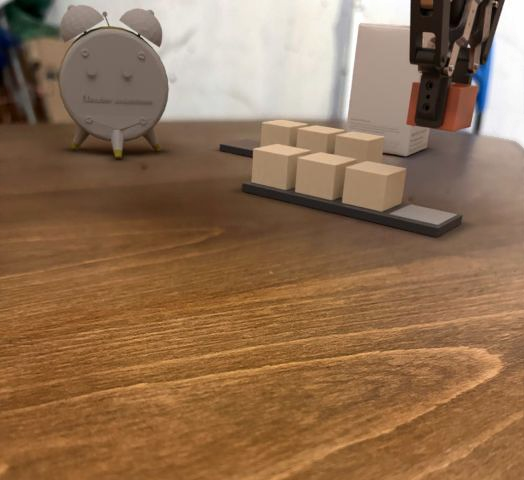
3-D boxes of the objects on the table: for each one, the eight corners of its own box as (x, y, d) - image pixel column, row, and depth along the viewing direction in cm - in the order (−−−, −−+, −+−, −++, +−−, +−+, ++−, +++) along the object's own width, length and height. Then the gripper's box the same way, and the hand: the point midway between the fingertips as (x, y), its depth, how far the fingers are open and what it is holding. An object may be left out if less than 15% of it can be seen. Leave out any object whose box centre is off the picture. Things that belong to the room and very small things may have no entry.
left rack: (246, 145, 86) (248, 112, 84) (387, 172, 76) (392, 136, 74) (219, 150, 82) (220, 116, 80) (364, 180, 72) (369, 142, 70)
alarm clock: (165, 149, 81) (164, 9, 74) (171, 161, 75) (170, 10, 68) (65, 147, 78) (55, 2, 71) (62, 159, 72) (51, 3, 65)
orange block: (425, 120, 57) (432, 79, 55) (470, 127, 55) (479, 84, 53) (405, 124, 54) (412, 80, 52) (453, 131, 52) (461, 86, 50)
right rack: (274, 182, 69) (277, 142, 67) (461, 223, 59) (470, 178, 57) (241, 191, 64) (243, 148, 63) (436, 237, 55) (445, 188, 53)
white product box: (407, 158, 84) (427, 27, 78) (342, 147, 88) (356, 22, 81) (428, 148, 92) (449, 27, 85) (368, 139, 95) (382, 23, 89)
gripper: (506, -162, 39) (451, 140, 47) (565, -118, 50) (511, 123, 57) (390, -154, 43) (356, 125, 51) (467, -114, 53) (430, 111, 61)
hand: (439, 123), depth 54 cm, fingers closed on orange block, 4 cm apart
